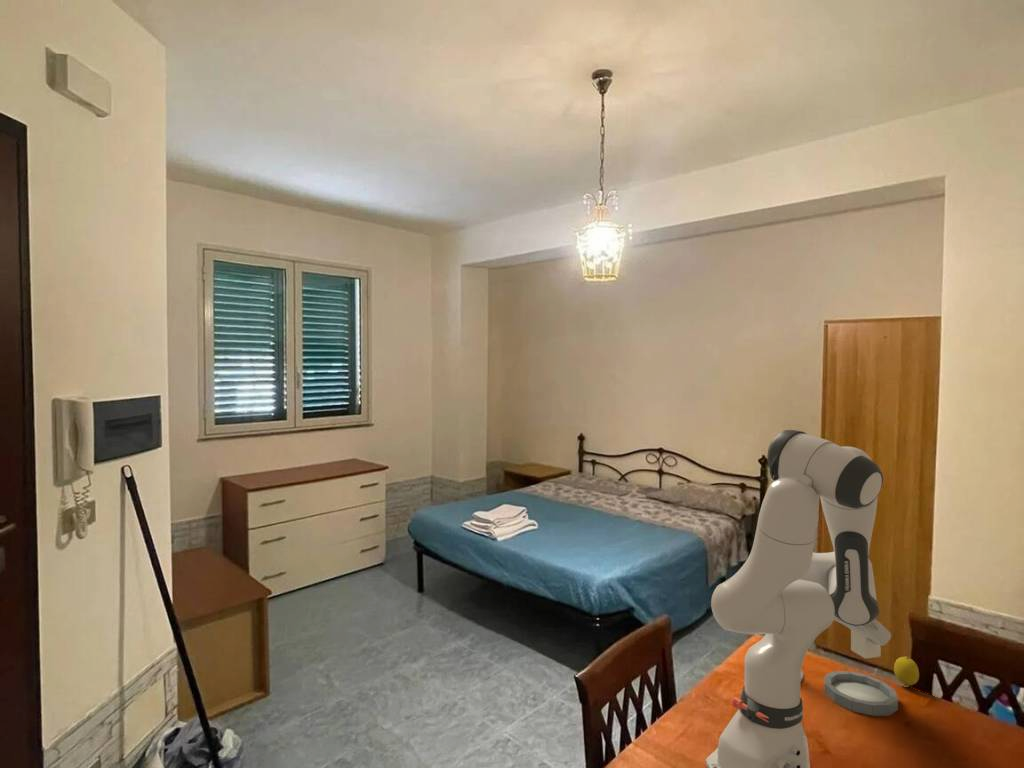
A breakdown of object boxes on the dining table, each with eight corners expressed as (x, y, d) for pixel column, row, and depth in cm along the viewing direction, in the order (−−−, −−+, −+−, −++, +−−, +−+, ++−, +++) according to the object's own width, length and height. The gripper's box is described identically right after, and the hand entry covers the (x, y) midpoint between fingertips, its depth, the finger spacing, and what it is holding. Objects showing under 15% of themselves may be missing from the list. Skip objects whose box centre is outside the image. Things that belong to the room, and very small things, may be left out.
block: (865, 658, 143) (865, 627, 143) (850, 650, 147) (850, 619, 147) (880, 656, 144) (880, 625, 144) (865, 648, 148) (865, 618, 148)
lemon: (910, 681, 154) (911, 652, 154) (923, 692, 148) (923, 662, 148) (889, 680, 154) (889, 651, 154) (901, 691, 149) (901, 661, 149)
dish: (877, 723, 135) (877, 712, 135) (812, 691, 149) (812, 682, 149) (909, 702, 144) (909, 692, 144) (844, 674, 157) (844, 665, 157)
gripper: (876, 608, 134) (910, 645, 136) (813, 578, 154) (844, 611, 156) (860, 629, 133) (895, 665, 135) (799, 596, 153) (830, 629, 155)
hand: (867, 636), depth 145 cm, fingers closed on block, 5 cm apart
